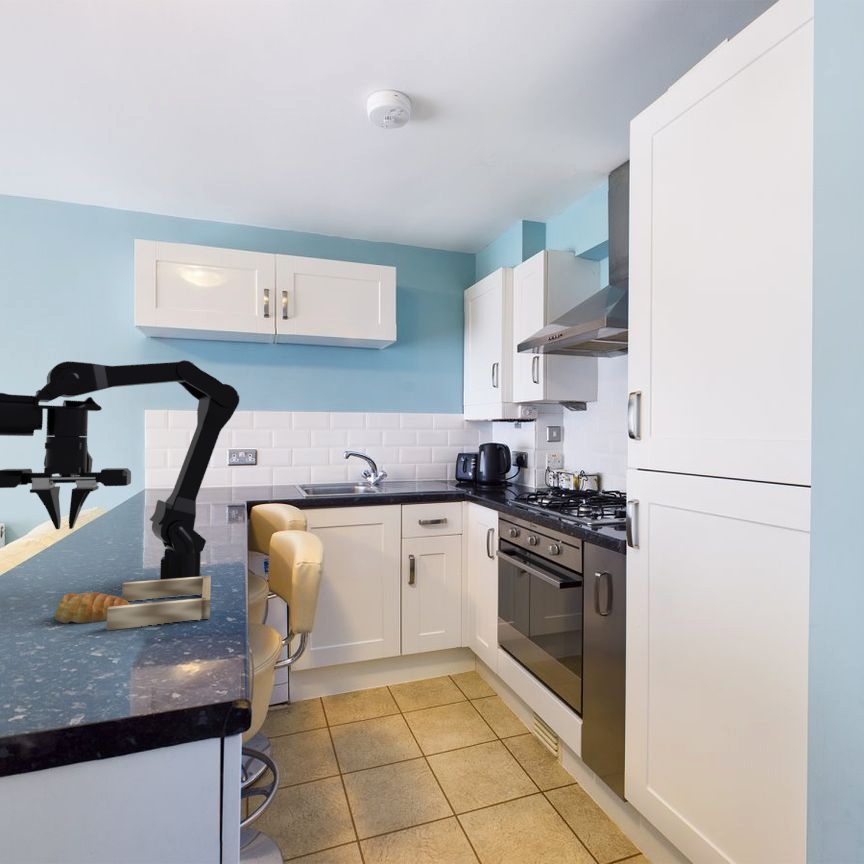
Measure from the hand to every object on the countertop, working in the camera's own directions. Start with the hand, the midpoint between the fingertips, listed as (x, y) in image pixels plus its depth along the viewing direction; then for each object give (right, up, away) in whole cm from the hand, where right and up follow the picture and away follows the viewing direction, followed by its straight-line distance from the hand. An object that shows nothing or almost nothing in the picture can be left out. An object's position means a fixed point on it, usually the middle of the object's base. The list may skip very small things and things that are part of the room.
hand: (64, 528), depth 89 cm
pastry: (+9, -13, -8) cm, 17 cm away
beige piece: (+19, -12, -4) cm, 23 cm away
